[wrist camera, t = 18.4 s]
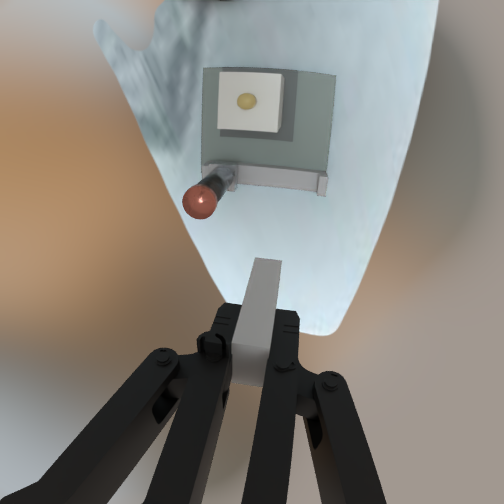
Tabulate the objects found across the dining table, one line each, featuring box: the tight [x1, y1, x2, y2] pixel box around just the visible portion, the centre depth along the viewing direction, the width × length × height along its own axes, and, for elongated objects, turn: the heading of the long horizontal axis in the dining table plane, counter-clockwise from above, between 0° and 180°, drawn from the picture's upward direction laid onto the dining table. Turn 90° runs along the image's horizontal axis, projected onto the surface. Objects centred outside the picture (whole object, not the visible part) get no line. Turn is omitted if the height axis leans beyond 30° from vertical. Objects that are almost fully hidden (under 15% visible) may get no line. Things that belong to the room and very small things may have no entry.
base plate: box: [201, 67, 336, 197], centre depth 34 cm, size 15×16×4 cm
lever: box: [182, 161, 238, 219], centre depth 32 cm, size 3×3×11 cm
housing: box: [217, 72, 285, 133], centre depth 29 cm, size 6×6×9 cm
